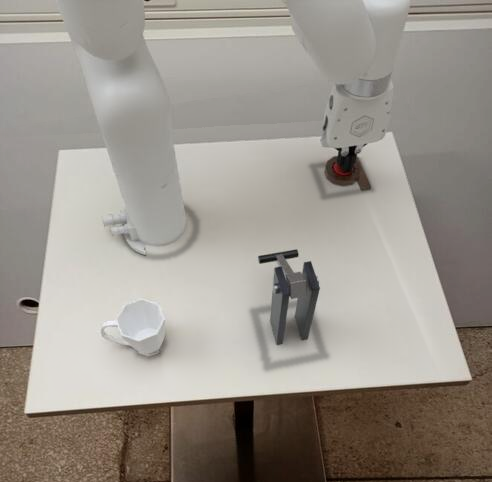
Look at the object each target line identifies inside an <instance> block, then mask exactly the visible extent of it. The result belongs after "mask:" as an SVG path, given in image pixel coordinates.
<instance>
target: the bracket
mask: <svg viewBox="0 0 492 482" xmlns="http://www.w3.org/2000/svg"><path fill="white" fill-rule="evenodd" d="M273 269H274V270H273V281H272V293H271V305H270V316H269V317H270V318H269V322H270V327H271V330H272V334H273V338H274V341H275V345H276V346H278V345H283V343H284V336H285V330H286V325H287V324H286V323H287V318H288V317H287V316H288V308H289V304H290V303H289V302H290V292H289V289H288V286H287V282H286V279H285V276H284V272H283V269H282V266H280V267H279V266H276V267H274V268H273ZM301 271H302V272H301V273H302V275H303V276H304V278H305V279H306V285H307V296H305V297H300V298H297V300H296V306H295V312H294V319H295V323H296V326H297V330H298V333H299V335H300V340H301V341H305V340H308V339H309V336H310V332H311V327H312V323H313V319H314V315H315V311H316V306H317V303H318V298H319V295H320V289H321V286H320V280H319V277H318V275H316V271H315V269H314V266H313V262H312V261H311V260H309V261H304V262H303V266H302V270H301Z"/></svg>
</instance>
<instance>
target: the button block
mask: <svg viewBox="0 0 492 482" xmlns="http://www.w3.org/2000/svg"><path fill="white" fill-rule="evenodd" d="M337 156H338V155H334V156H333V157H331V158H329V159H327V161H326V164H325V167H324V171H323V172H324V175H325V178H326V180H327V181H328V182H330V183H331V184H333V185H335V186H339V187H349V186H353V185H354V184H355V183H357V185H358V187H359V188H358V189H359V190H360V191H361V192H364V191H365V192H366V191H371V189H372V185H371V182H370V181H369V178H368V176H367V174H366V172H365V169H364V167H363V165H362V163H361V161H360V158H359V156H357V158H356V162H355V164H353V172H352V174H351V175H350V176H345V177H343V176H339V175H337V174H335V173H334V172H333V168H334V164H335V163H336V162H337Z"/></svg>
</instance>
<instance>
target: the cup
mask: <svg viewBox="0 0 492 482" xmlns="http://www.w3.org/2000/svg"><path fill="white" fill-rule="evenodd" d="M100 326H101V327H100V334H101V337H102V338H103V339H105V340H106V341H109V342H111V343H115V344H119V345H123V346H128V347H132V348H133V349H135V350H136V351H138V354H140V355H143V356H145V357H148V358H150V357H152V356H155V355H157V354H160V352H161V346H162V344H163V342H164V341H165V336H166V318H165V314H164V313H163V310H162V307H161V305H160V303H158V302H155V301H153V300H149V299H146V298H144V297H141V298H139V299H136V300H133V301H130V302H127V303H125V304H123V306H122V308H121V309H120V311H119V313H118V315H117V317H116V318H115V319H114V320H106V321H104V322H103V323H101V325H100ZM108 327H112V328H113V327H114V328H118V330H119V333H120V336H121V337H122V338H120V337H116V336H113V335H111V334H108V333H107V332H106V331H105V329H106V328H108Z"/></svg>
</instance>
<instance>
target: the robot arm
mask: <svg viewBox="0 0 492 482" xmlns="http://www.w3.org/2000/svg"><path fill="white" fill-rule="evenodd" d="M281 1H282V3H283V4H284V5H285V7H286V8H287V10H288V11H289V13H290V15H289V19H290V20H289V21H290V26H291V29H292V32H293V33H294V35H295V37H296V38H297V40H298V41H299V43H300V44H301V46H302V47H303V48H304V50H305V51H306V53H307V54H308V55H309V56H310V58H311V59H312V61H313V63H314V64H315V66H316V68H317V69H318V70H319V72H320V73H321V75H322V76H323V77H324V78H325V79H326V80H327V81H329V82H331V83H332V84H333V86H332V88H331V91H330V93H329V97H328V99H327V103H326V105H325V106H326V107H325V111H324V115H323V119H322V132H323V133H322V136H321V138H320V144H321V147H323V148H330V149H331V148H332V149H335V150H336V151H337V155H336V156H337V164H338V166H340V167H341V169H342V172H343V173H345V172H346V171H348V172H351V171H352V168H353V164H355V162H356V158H357V157H358V155H359V154H361V153H362V150H363V148H364V147H365V146H367V145H368V144H374V143H378V142H380V141H382V140H383V139H384V138H385V137H386V134H387V132H388V131H387V130H388V127H389V124H390V119H391V114H392V109H393V108H392V107H393V97H394V83H393V81H392V80H391V77H392V74H393V70H394V66H395V64H396V60H397V56H398V52H399V48H400V45H401V40H402V37H403V34H404V30H405V27H406V23H407V20H408V16H409V12H410V9H411V0H281ZM54 2H55V4H56V7H57V10H58V12H59V14H60V17H61V19H62V21H63V23H64V26H65V28H66V32H67V34H68V36H69V39H70V42H71V44H72V47H73V50H74V52H75V56H76V58H77V60H78V64H79V67H80V69H81V72H82V75H83V78H84V82H85V86H86V89H87V92H88V96H89V98H90V102H91V104H92V105H91V106H92V108H93V111H94V114H95V118H96V120H97V124H98V127H99V129H100V133H101V135H102V138H103V141H104V144H105V147H106V152H107V155H108V158H109V161H110V164H111V167H112V170H113V173H114V175H115V179H116V182H117V185H118V188H119V192H120V195H121V198H122V202H123V204H124V210H120V211H119V213H115V214H113V213H111V214H104V215H102V216H101V219H102V224H103V227H104V228H105V227H110V233H111V235H112V236H118V235H121V234H123V235H124V238H125V240H126V242H127V244H128V245H129V246H130V248H131V249H133V250H134V251H135V252H137V253H139V254H141V255H143V256H147V251H146V245H147V246H151V247H163V246H167V245H170V244H172V243H175V242H176V241H177V240H179V239H180V238H181V237H182V235H183V234H184V232H185V231H186V228H187V216H186V210H185V205H184V198H183V193H182V192H183V191H182V185H181V180H180V173H179V168H178V161H177V155H176V150H175V144H174V136H173V112H172V111H173V110H172V106H171V101H170V97H169V93H168V91H167V88H166V85H165V83H164V80H163V78H162V75H161V73H160V71H159V69H158V66H157V64H156V62H155V61H154V59H153V56H152V54H151V52H150V50H149V47H148V45H147V42H146V40H145V37H144V33H145V27H146V26H145V25H146V23H145V21H146V11H145V3H144V0H54ZM121 224H122V225H121ZM115 225H119V226H115Z"/></svg>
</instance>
